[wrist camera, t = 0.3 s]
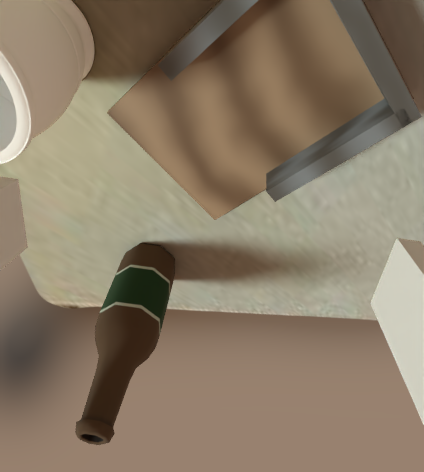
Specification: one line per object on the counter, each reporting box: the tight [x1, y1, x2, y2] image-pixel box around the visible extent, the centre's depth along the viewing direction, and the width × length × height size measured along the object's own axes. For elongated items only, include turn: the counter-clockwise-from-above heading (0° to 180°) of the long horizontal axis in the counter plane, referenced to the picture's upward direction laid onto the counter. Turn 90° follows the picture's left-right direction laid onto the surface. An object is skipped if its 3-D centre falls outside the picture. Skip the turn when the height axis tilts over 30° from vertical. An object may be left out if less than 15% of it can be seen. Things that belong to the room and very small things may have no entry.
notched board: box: [107, 0, 422, 220], centre depth 34 cm, size 24×17×4 cm
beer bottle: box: [76, 243, 175, 445], centre depth 43 cm, size 8×8×24 cm
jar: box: [0, 0, 95, 164], centre depth 29 cm, size 11×10×15 cm
